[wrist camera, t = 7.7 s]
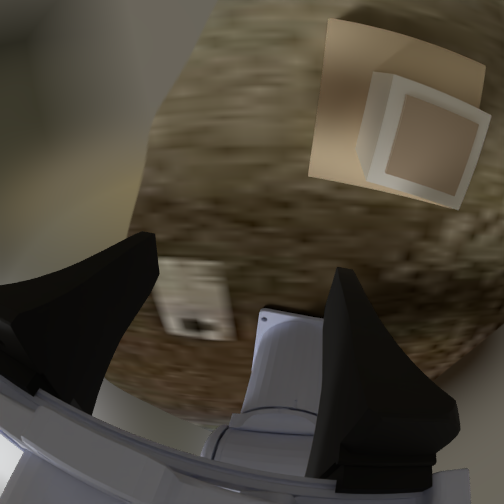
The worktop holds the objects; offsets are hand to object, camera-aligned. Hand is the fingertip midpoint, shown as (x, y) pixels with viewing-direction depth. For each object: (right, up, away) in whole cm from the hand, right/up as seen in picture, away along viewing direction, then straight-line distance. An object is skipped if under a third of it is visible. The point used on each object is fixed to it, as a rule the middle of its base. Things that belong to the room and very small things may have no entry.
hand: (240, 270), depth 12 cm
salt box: (+8, +8, +2) cm, 11 cm away
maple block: (+9, +9, +4) cm, 14 cm away
